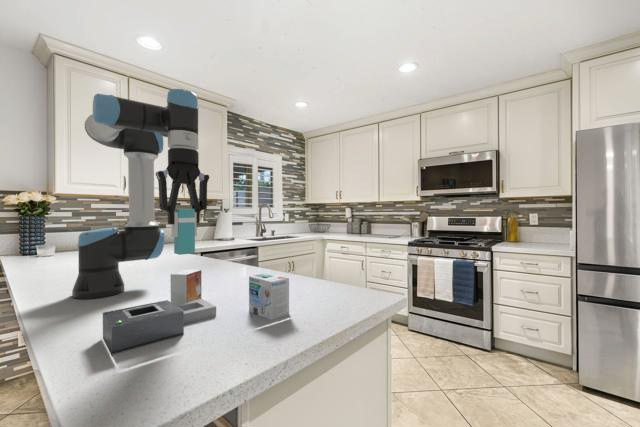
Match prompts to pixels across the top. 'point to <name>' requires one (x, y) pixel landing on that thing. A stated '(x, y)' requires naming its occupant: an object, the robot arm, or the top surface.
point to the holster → (197, 310)
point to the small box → (185, 286)
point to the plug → (185, 232)
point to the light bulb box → (269, 295)
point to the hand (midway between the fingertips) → (184, 236)
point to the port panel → (141, 325)
